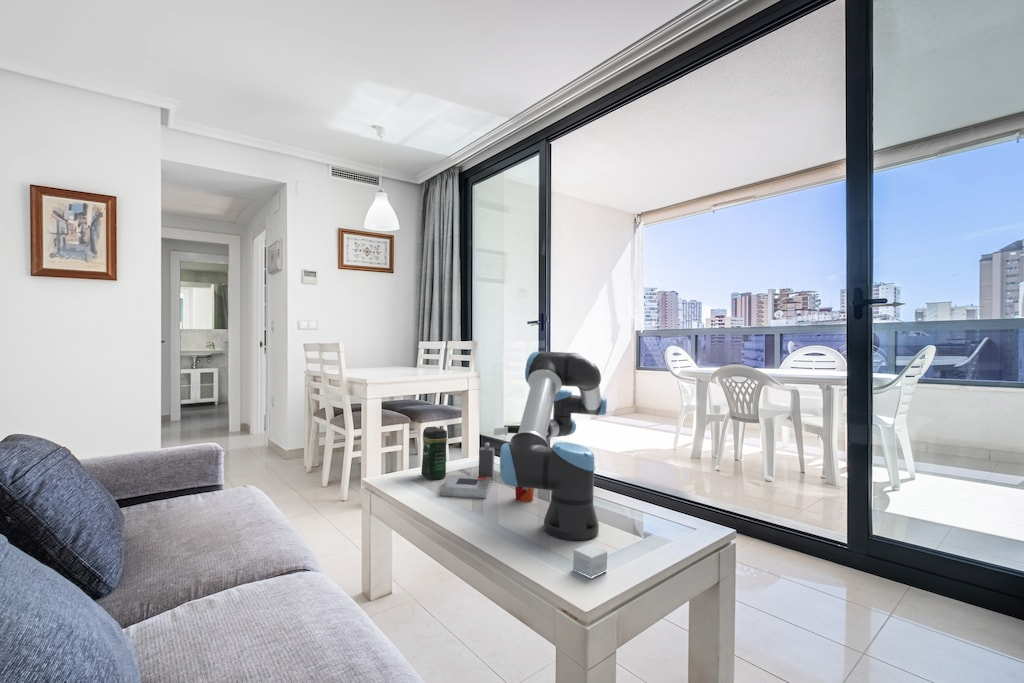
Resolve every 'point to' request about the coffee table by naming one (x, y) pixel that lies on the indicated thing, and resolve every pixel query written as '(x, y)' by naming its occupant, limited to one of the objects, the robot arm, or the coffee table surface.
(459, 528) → the coffee table surface
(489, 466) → the plug
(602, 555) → the small box
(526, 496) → the paper cup
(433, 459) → the coffee jar
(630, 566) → the coffee table surface
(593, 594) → the coffee table surface
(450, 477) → the socket plate
